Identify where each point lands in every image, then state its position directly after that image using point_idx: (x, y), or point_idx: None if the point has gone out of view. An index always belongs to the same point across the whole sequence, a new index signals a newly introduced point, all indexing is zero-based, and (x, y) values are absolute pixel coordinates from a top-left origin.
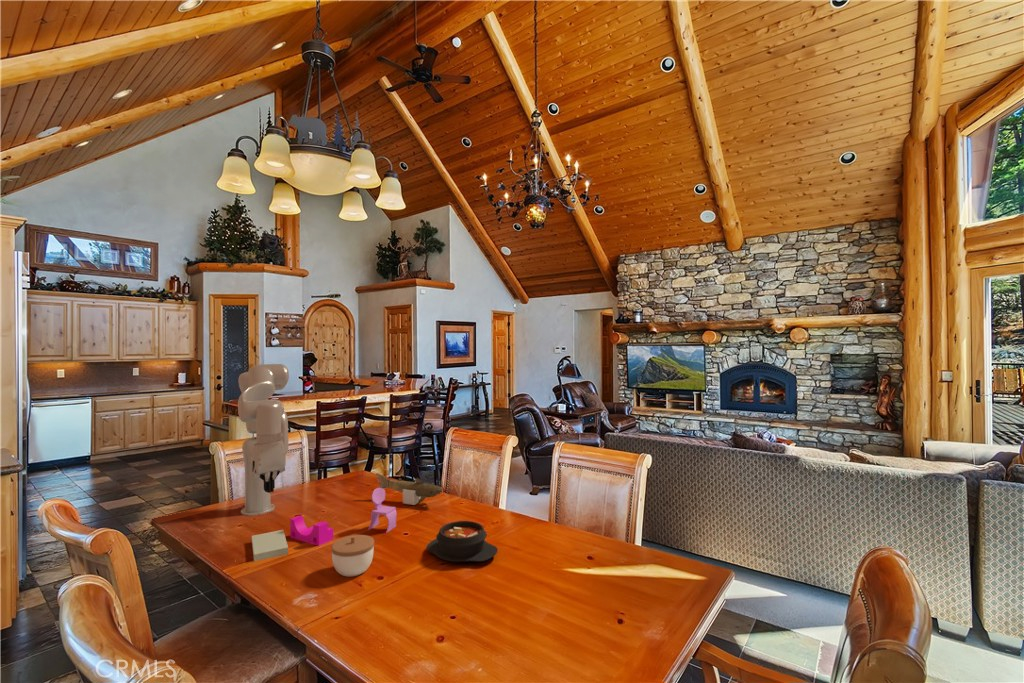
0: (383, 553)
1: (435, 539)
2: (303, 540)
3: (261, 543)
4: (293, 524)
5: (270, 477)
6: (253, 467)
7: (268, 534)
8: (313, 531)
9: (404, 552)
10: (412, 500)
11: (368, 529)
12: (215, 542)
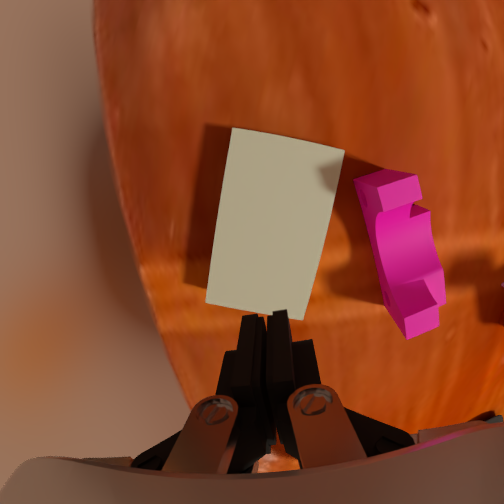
0: (433, 407)
1: (488, 421)
2: (373, 245)
3: (244, 229)
4: (375, 205)
5: (289, 440)
6: (16, 497)
7: (287, 158)
8: (395, 306)
9: (449, 417)
10: None
11: (501, 285)
12: (150, 41)
